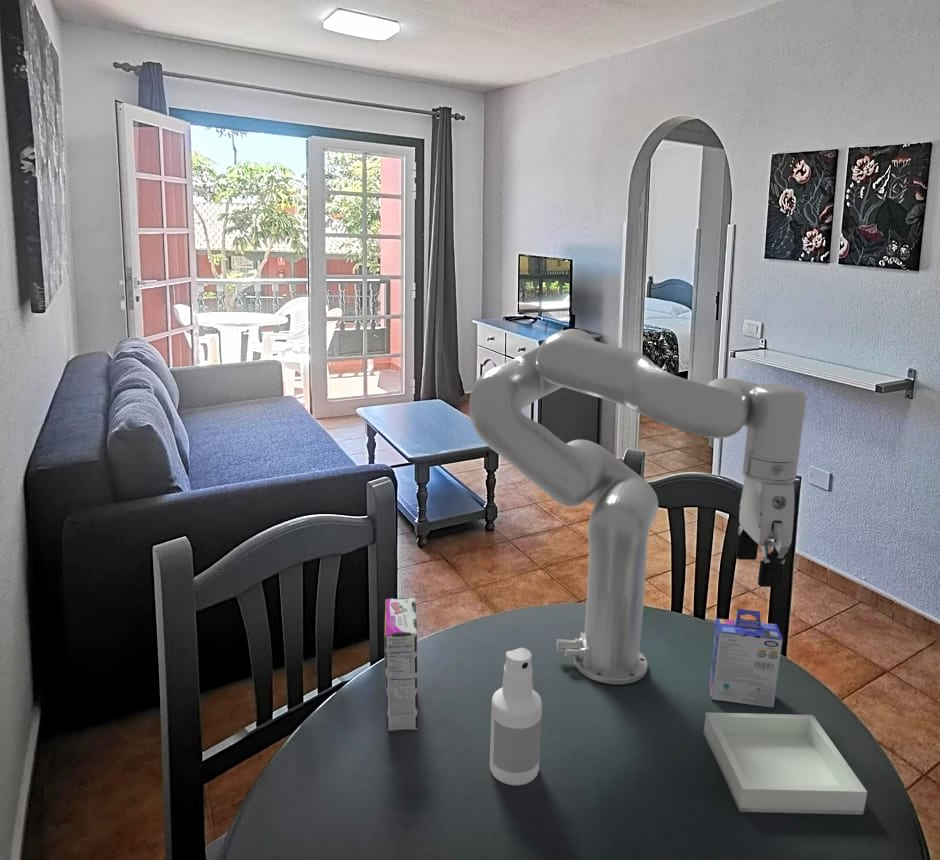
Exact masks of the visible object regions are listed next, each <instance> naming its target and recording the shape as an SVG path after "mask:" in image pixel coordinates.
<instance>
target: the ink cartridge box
mask: <svg viewBox="0 0 940 860" xmlns="http://www.w3.org/2000/svg"><path fill="white" fill-rule="evenodd" d="M746 615H749V616H752V617H754V618H756V620H751V619H744V618H741V616H746ZM714 623H715V625H714V638H713V649H712V657H711V668H710V677H709V683H708V687H709V688H708V689H709V693H710V695H709V696H710V699H711V700H713V701H723V702H727V703H728V702H729V703H737V704H745V705H752V706H759V707H766V708H774V706H775V700H776V699H775V698H776V692H777V683H778V676H779V668H780V662H781V653H782V649H783V648H782V647H783V641H784V638H783V635H782V634H781V631H780V629H779V627H778V624H776V623H768V622H761V611H759V610H758V611H757V610H751V609H750V610H748V609H744V608H743V609H741V608H737V610H736V619H726V618H715V622H714Z"/></svg>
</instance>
